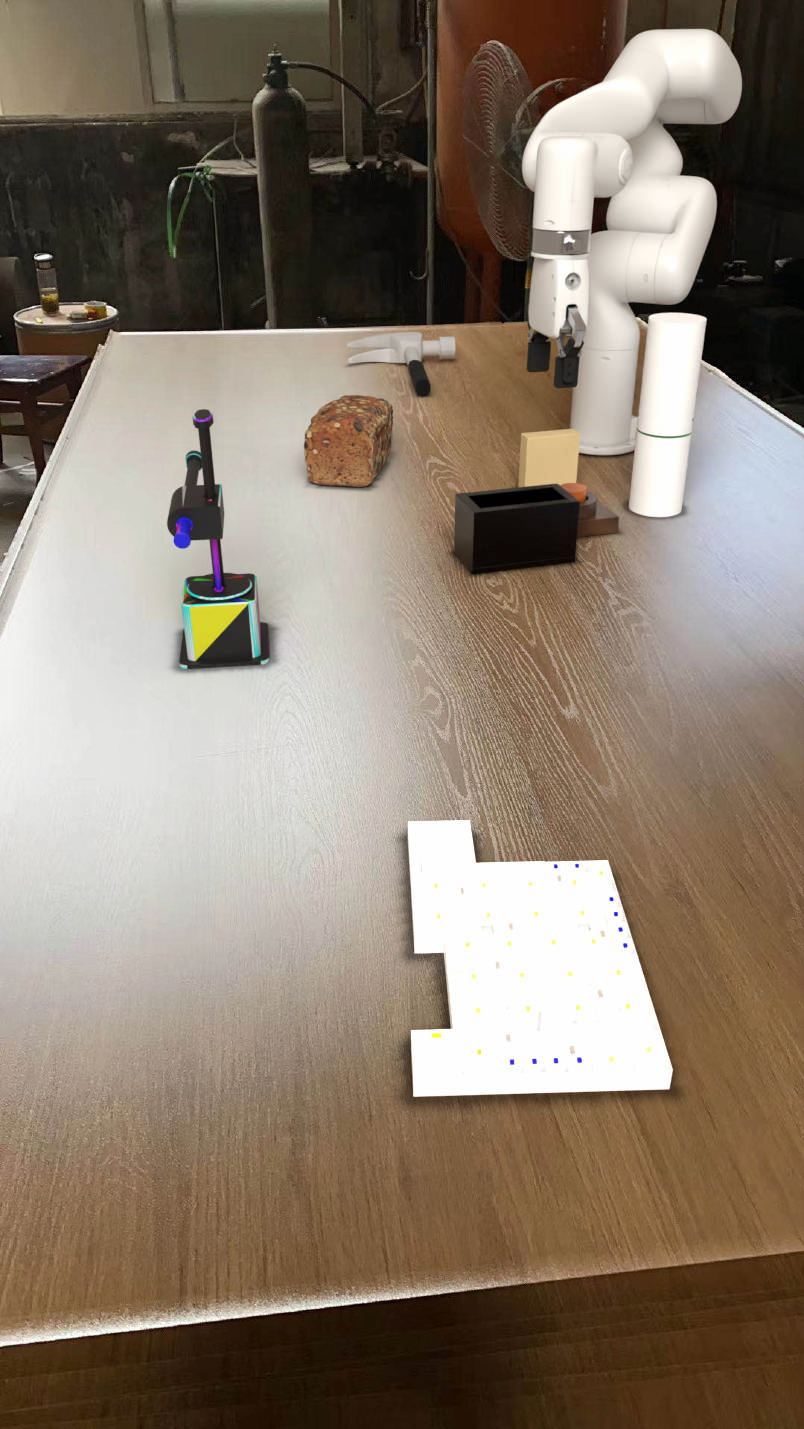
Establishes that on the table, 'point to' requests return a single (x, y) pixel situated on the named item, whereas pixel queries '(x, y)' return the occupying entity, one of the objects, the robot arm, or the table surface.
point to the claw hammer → (404, 353)
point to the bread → (348, 441)
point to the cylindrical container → (666, 412)
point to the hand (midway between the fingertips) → (551, 379)
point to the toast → (549, 457)
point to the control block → (595, 518)
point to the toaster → (515, 528)
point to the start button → (576, 490)
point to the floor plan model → (528, 975)
